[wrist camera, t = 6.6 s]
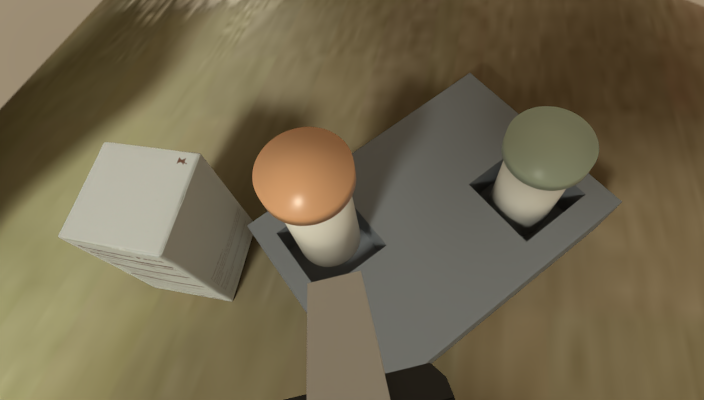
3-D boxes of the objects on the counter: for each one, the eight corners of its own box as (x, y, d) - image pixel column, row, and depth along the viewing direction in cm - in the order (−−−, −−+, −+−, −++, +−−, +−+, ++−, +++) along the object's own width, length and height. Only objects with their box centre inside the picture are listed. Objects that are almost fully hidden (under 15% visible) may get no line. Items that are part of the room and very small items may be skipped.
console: (264, 247, 40) (246, 225, 35) (463, 107, 44) (469, 72, 40) (375, 409, 33) (371, 407, 29) (596, 227, 38) (622, 201, 33)
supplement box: (183, 212, 42) (103, 136, 31) (258, 224, 41) (203, 150, 30) (153, 289, 39) (51, 236, 28) (232, 305, 38) (160, 257, 27)
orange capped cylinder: (278, 231, 34) (234, 163, 25) (338, 189, 35) (316, 110, 26) (320, 289, 32) (287, 237, 23) (382, 243, 33) (375, 175, 24)
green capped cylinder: (466, 204, 38) (486, 137, 29) (515, 168, 39) (549, 91, 30) (515, 254, 36) (553, 198, 27) (565, 214, 37) (619, 147, 28)
